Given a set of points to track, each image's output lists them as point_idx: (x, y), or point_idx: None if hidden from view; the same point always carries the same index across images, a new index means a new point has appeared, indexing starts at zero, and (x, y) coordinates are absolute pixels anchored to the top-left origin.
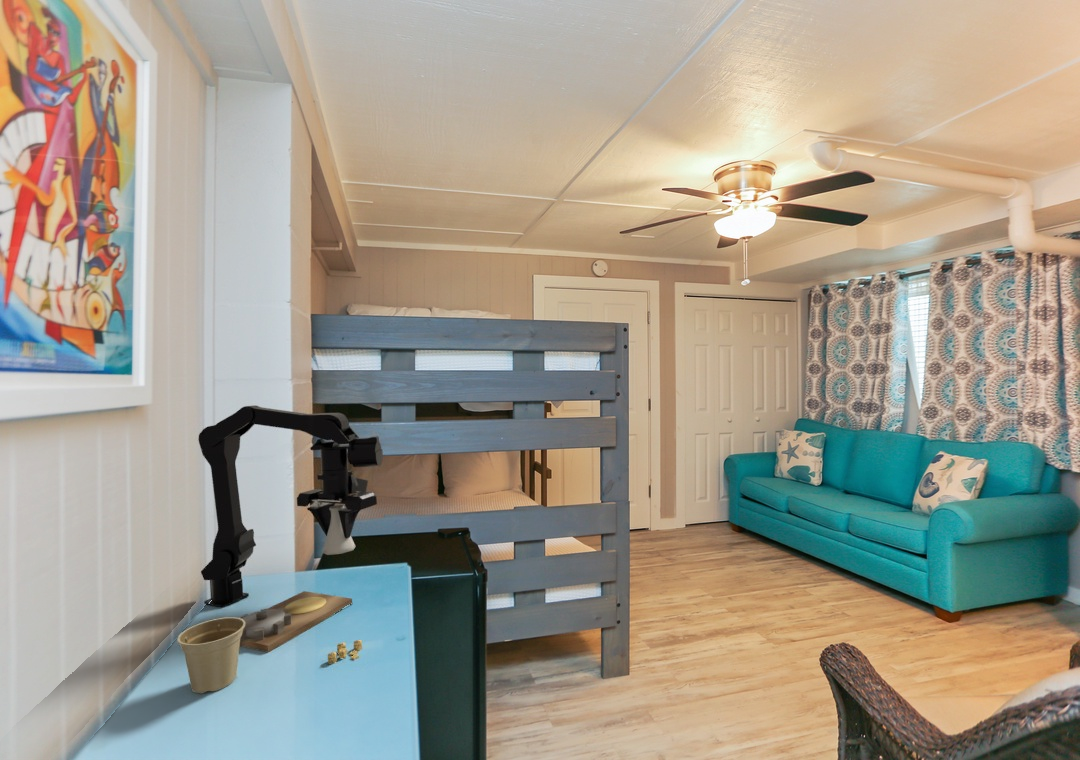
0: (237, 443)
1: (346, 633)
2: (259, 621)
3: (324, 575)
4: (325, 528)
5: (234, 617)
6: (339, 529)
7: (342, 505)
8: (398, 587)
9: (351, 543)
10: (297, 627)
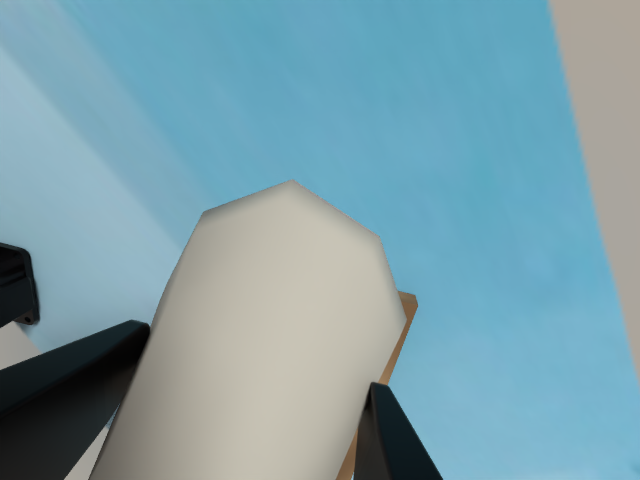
0: None
1: (480, 442)
2: None
3: (118, 21)
4: (83, 449)
5: None
6: None
7: None
8: (554, 138)
9: (389, 329)
10: (352, 453)
